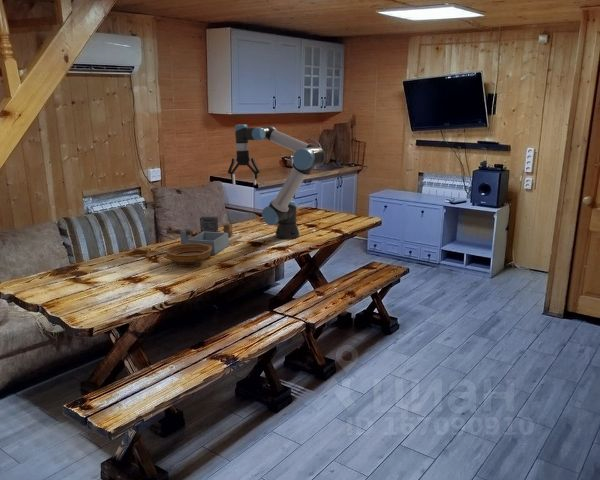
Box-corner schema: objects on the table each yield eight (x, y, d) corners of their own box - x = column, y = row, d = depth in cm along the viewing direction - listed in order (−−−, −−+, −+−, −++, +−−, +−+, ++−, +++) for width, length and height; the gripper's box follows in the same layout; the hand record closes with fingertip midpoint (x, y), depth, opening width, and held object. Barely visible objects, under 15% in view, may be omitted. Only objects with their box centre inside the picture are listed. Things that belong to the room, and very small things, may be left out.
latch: (192, 233, 309) (192, 228, 308) (190, 234, 306) (190, 229, 305) (169, 232, 313) (169, 226, 312) (166, 233, 310) (166, 228, 309)
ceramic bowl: (179, 274, 267) (178, 259, 265) (152, 265, 283) (151, 250, 281) (225, 261, 288) (224, 247, 286) (198, 253, 304) (197, 239, 302)
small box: (218, 231, 353) (218, 216, 350) (216, 234, 346) (215, 218, 344) (203, 231, 354) (202, 216, 351) (200, 234, 347) (199, 218, 345)
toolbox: (228, 246, 318) (227, 226, 315) (214, 255, 300) (213, 234, 297) (195, 243, 324) (194, 224, 321) (179, 252, 306) (177, 232, 302)
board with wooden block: (242, 237, 339) (241, 223, 337) (230, 245, 321) (229, 230, 319) (220, 236, 343) (219, 222, 341) (207, 243, 325) (206, 229, 323)
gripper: (263, 149, 328) (265, 183, 333) (225, 149, 334) (227, 183, 339) (260, 150, 321) (262, 185, 326) (221, 151, 327) (223, 185, 332)
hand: (244, 184), depth 332 cm, fingers open, 13 cm apart
